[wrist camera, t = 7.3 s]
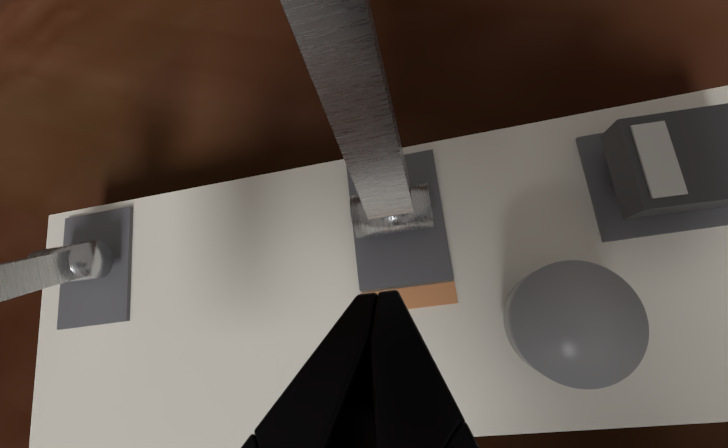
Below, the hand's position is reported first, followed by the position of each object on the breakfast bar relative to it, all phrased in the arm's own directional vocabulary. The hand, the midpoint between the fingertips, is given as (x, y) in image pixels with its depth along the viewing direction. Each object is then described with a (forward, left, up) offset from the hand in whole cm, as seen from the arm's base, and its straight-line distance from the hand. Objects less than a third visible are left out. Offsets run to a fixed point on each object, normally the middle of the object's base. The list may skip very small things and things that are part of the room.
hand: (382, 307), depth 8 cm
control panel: (+1, +2, -10) cm, 10 cm away
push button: (-1, -5, -7) cm, 8 cm away
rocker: (+4, -9, -6) cm, 11 cm away
